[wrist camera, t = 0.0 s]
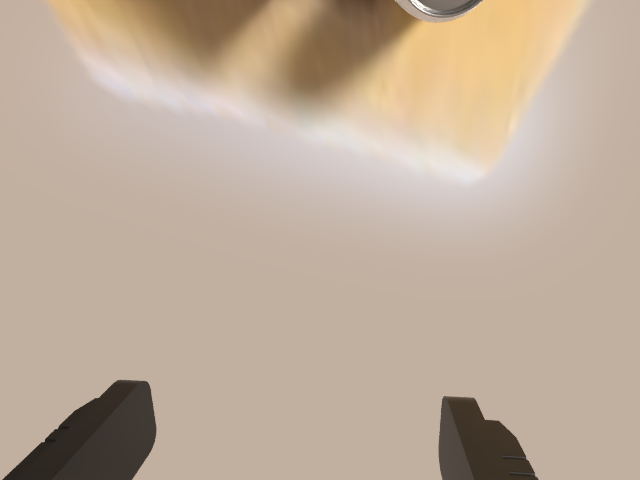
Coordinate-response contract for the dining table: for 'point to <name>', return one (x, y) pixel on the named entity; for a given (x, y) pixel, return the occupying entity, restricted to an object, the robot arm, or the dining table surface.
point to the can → (438, 9)
